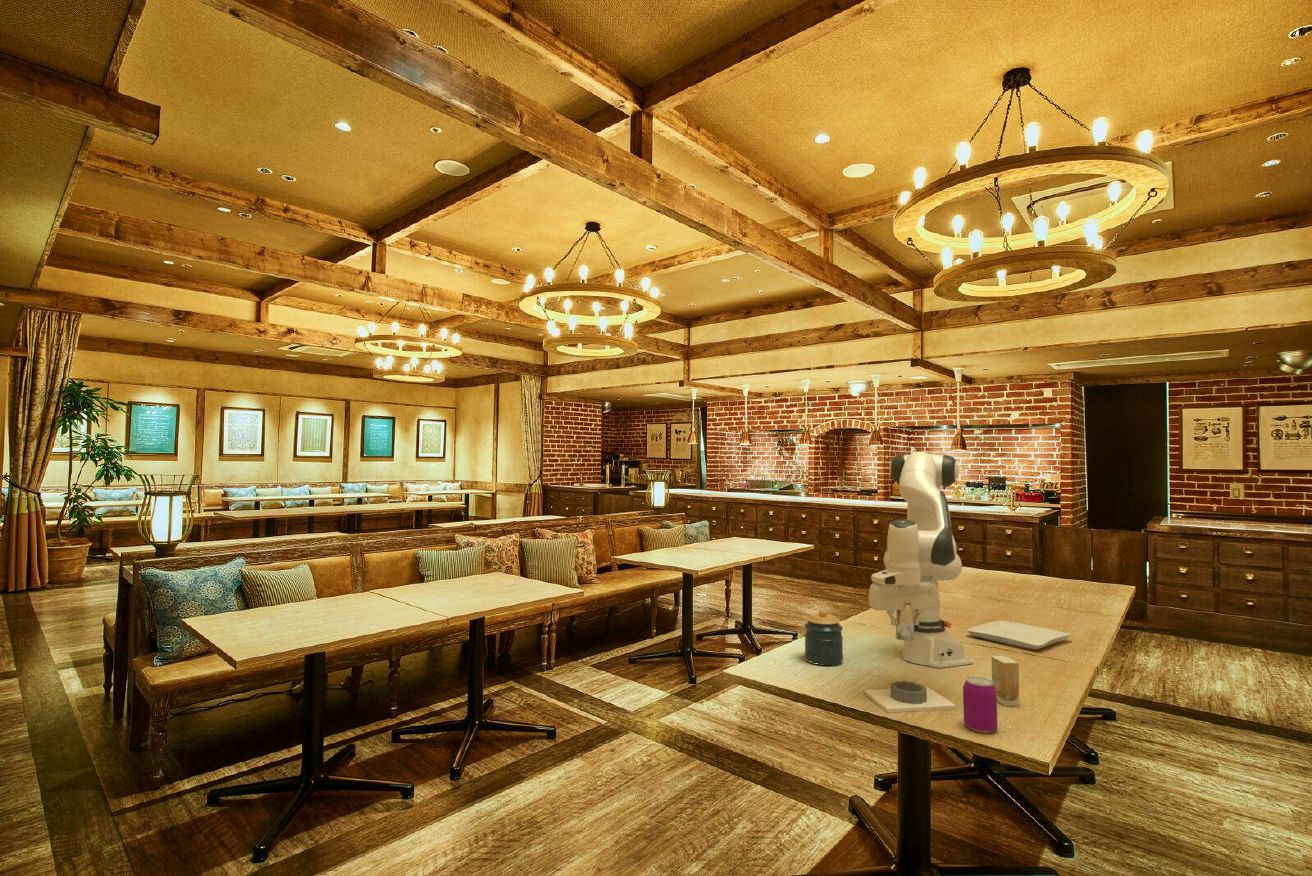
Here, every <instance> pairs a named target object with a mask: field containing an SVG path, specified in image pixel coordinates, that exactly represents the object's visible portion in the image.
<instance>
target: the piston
mask: <svg viewBox="0 0 1312 876" xmlns="http://www.w3.org/2000/svg"><path fill="white" fill-rule="evenodd" d="M902 606H903V608H902V610H895V618H896V619H898V624H899V625H898V626H895V637H896V640H899V641H904V642H905V641H913V640H914V610H913V605H911V603H905V605H902Z"/></svg>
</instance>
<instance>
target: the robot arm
mask: <svg viewBox="0 0 1312 876" xmlns="http://www.w3.org/2000/svg"><path fill="white" fill-rule="evenodd" d="M888 470H889V475H890V477H891V480H893V481H894V482H895V483H898V484H899V485H898V489H899V490H898V491H899V494H900V496H901V498H902V499H903V500H904V501H905V502H906V503H907V508H906V509H907V511H906V519H896V520H895V519H894V520H893V521H891V522H890V523H889V524H888V530H887V538H886V551H885V553H884V556H883V563H884V564H883V565H884V566H885V569H883V570H881V571H878V572H874V573H871V576H870V580H871V581H872V583H871V585H870V586H869V590H868V591H869V592H868V605H869V607H870V608H871V609H872V610H875V611H886V613H887V615H888V617H889V618H890V625H891V626H894V627H896V626H898V625H899V624H898V619H896V616H895V615H896V610H902V608H903V606H902V605H905V603H911V605H913V610H914V640H913V641H904V646H903V650H902V652H901V653H902V654H901V658H902V660H904V661H907V662H909V663H912V664H915V665H916V664H917V665H921V666H927V667H931V668H937V669H941V668H943V669H944V668H950V667H958V666H965V665H971V664H973V660H972V658H971V657H969V656H968V655H966V654H965V648H964V645H963V643H962V642H961V641H959V639H957V637H955V636H953V634H951V633H950V632H948V631H947V630H946V628H947V629H951V627H952V623H951V622H950V621H946V620H945V621H944V620H943V619H941V607H940V606H941V600H940V593H939V581H940V582H941V581H954V580H956V579H957V578H958V577H959V576H960V575H961V572H962V570H963V569H962V568H963V564H962V563H963V562H962V560H961V557H960V556H959V554H957V551H958V549H957V543H956V540H955V537H954V535H953V530H952V529H953V528H952V524H951V517H950V516H951V515H950V509H949V505H948V500H947V496H946V494H945V492H944V491H945V490H946V489H947V487H949V486H953V484H955V483H956V480H957V479H958V476H959V471H960V470H959V465H958V463H957V460H956V459H955V457H953V456H951V455H947V454H943V455H941V454H934V453H927V452H924V451H916V452H915V451H914V452H912V453H910V454H904V453H902V454H897V455H895V456H894V457H892V459H891V461H890V465H889V469H888ZM941 486H942V490H943V491H942V490H941V489H940V487H941ZM894 614H895V615H894Z"/></svg>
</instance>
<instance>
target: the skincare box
mask: <svg viewBox="0 0 1312 876" xmlns="http://www.w3.org/2000/svg"><path fill="white" fill-rule="evenodd" d="M1019 664H1020V663H1019V662H1018V661H1015V660H1014V659H1012V658H1010V657H1007V656H1006V655H991V681H992V682H993V684H994V687H995V689H996V691H997V703H1000V704H1001V705H1003V706H1004V707H1018V706H1020V683H1019V682H1020V677H1019V676H1020V675H1019V673H1020V669H1019Z"/></svg>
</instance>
